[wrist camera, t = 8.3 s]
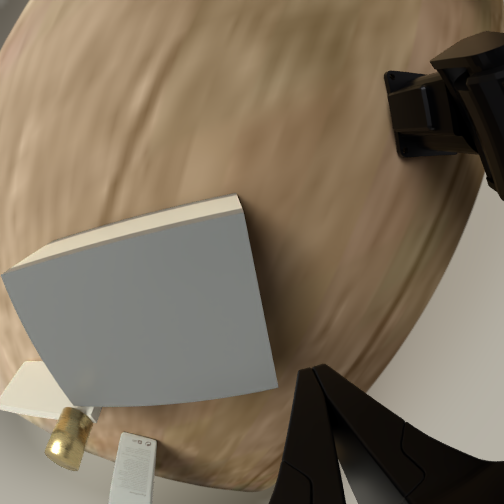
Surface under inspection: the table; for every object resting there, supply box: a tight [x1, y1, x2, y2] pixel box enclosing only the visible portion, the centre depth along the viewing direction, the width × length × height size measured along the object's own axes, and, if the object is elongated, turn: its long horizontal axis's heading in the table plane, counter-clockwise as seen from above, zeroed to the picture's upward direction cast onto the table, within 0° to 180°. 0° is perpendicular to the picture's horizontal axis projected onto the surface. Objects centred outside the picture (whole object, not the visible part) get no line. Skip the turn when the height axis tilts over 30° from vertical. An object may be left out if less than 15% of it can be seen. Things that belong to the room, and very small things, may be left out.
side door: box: [0, 361, 102, 471], centre depth 15 cm, size 12×2×11 cm, turn 101°
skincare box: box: [108, 432, 157, 504], centre depth 20 cm, size 6×4×12 cm
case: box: [1, 193, 278, 407], centre depth 16 cm, size 14×10×6 cm
